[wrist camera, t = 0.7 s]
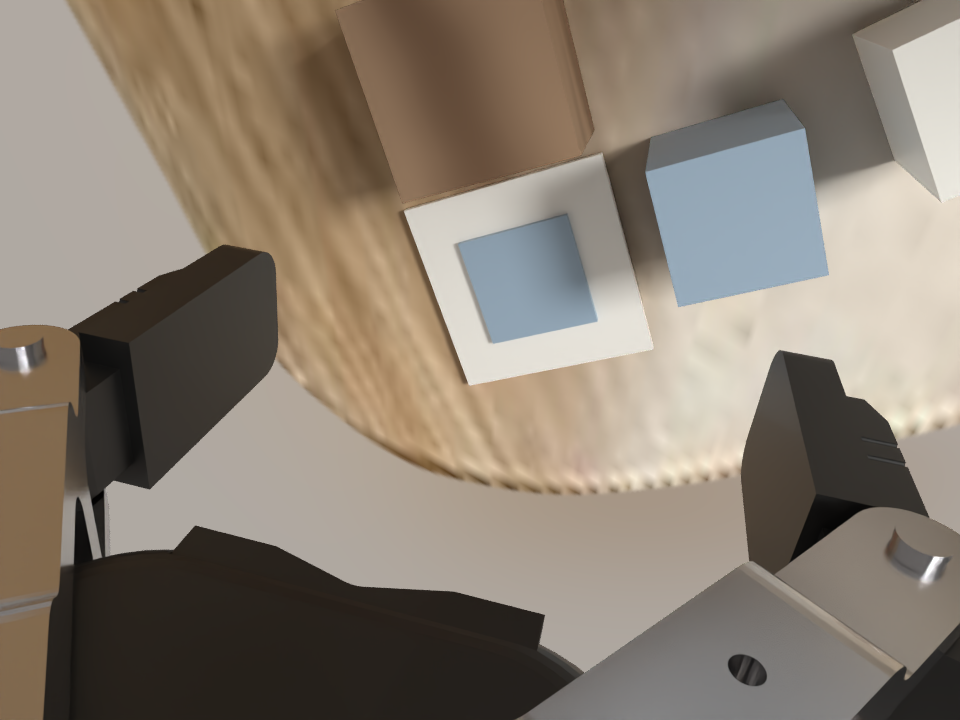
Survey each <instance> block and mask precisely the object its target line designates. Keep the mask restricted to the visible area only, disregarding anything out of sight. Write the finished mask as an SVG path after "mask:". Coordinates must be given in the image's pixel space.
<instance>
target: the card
mask: <svg viewBox="0 0 960 720" xmlns="http://www.w3.org/2000/svg"><path fill="white" fill-rule="evenodd" d="M404 213H405V216H406V218H407V221H408V224H409V226H410V229H411V232H412V234H413V237H414V240H415V242H416V245H417V248H418V250H419V253H420V256H421V258H422V261H423V264H424V266H425V269H426V272H427V274H428V277H429V280H430V282H431V285H432V288H433V290H434V293H435V296H436V298H437V301H438V304H439V306H440V309H441V312H442V314H443V317H444V320H445V322H446V325H447V328H448V330H449V333H450V336H451V338H452V341H453V344H454V347H455V349H456V352H457V355H458V357H459V360H460V363H461V365H462V368H463V371H464V373H465V376H466V379H467V381H468V384H469V386H470V385H475V384H480V383H485V382H490V381H495V380H500V379H505V378H510V377H516V376H521V375H526V374H531V373H536V372H541V371H546V370H551V369H556V368H561V367H566V366H572V365H577V364H582V363H587V362H592V361H597V360H602V359H607V358H612V357H617V356H622V355H627V354H633V353H638V352H643V351H648V350H653V347H654V345H653V342H652V338H651V334H650V330H649V326H648V323H647V319H646V315H645V311H644V308H643V304H642V300H641V296H640V292H639V289H638V285H637V281H636V277H635V274H634V270H633V266H632V262H631V258H630V255H629V251H628V247H627V243H626V240H625V236H624V232H623V228H622V225H621V221H620V217H619V213H618V209H617V206H616V202H615V198H614V194H613V191H612V187H611V183H610V179H609V175H608V172H607V168H606V164H605V160H604V157H603V153H602V152H600V153H596V154H593V155H589V156H586V157H583V158H579V159H576V160H572V161H569V162H565V163H562V164H558V165H555V166H552V167H548V168H545V169H541V170H538V171H534V172H531V173H528V174H524V175H521V176H517V177H514V178H510V179H507V180H503V181H500V182H497V183H493V184H490V185H486V186H483V187H479V188H476V189H472V190H469V191H466V192H462V193H459V194H455V195H452V196H448V197H445V198H442V199H438V200H435V201H431V202H428V203H424V204H421V205H417V206H414V207H411V208H407V209H406V210H405V211H404Z"/></svg>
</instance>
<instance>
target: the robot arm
mask: <svg viewBox="0 0 960 720" xmlns="http://www.w3.org/2000/svg"><path fill="white" fill-rule="evenodd" d="M277 347H278V322H277V293H276V269H275V263H274V260H273V258H272V256H271V255H270V254H269V253H267V252H262V251H256V250H251V249H246V248H240V247H235V246H230V245H222V246H219V247H218V248H216V249H214V250H213V251H211V252H210V253H208V254H206V255H205V256H203V257H201V258H200V259H198V260H196V261H195V262H193V263H191V264H190V265H188V266H187V267H185V268H183V269H180V270H177V271H173V272H170V273H167V274H163V275H160V276H158V277H156V278H154V279H153V280H151V281H149V282H148V283H146V284H144V285H143V286H141V287H139V288H138V290H137V292H136V291H132V292H131V293H129V294H127V295H126V296H124V297H123V298H121V299H120V301H119V302H114V303H112V304H110V305H109V306H107V307H106V308H104V309H103V310H101V311H99V312H97V313H95V314H94V315H92V316H90V317H89V318H87V319H85V320H84V321H82V322H80V323H78V324H77V325H75V326H73V327H72V328H70V329H68V330H67V329H63V328H60V327H55V326H48V325H23V326H15V327H9V328H4V329H0V720H960V534H958V533H957V532H955V531H953V530H952V529H950V528H949V527H947V526H945V525H943V524H941V523H939V522H937V521H935V520H933V519H930V518H929V516H928V513H927V511H926V509H925V506H924V504H923V502H922V499H921V497H920V495H919V492H918V490H917V488H916V485H915V483H914V481H913V479H912V476H911V474H910V471H909V469H908V468H907V467H905V460H904V458H903V455H902V453H901V451H900V449H899V448H897V445H898V444H897V441H896V439H895V437H894V434H893V432H892V430H891V427H890V425H889V423H888V421H887V420H886V419H885V418H883V417H882V416H881V415H880V414H879V413H878V412H877V411H876V410H875V409H874V408H873V407H872V406H871V405H870V404H868V403H867V402H866V401H865V400H863V399H858V398H853V397H848V396H846V394H845V392H844V389H843V386H842V383H841V380H840V378H839V375H838V372H837V369H836V367H835V364H834V362H833V361H832V360H829V359H824V358H818V357H813V356H808V355H802V354H797V353H792V352H787V351H781V350H779V351H778V352H777V353H776V355H775V357H774V359H773V361H772V363H771V366H770V369H769V372H768V375H767V378H766V381H765V385H764V388H763V391H762V394H761V397H760V400H759V403H758V406H757V409H756V413H755V416H754V419H753V422H752V425H751V428H750V431H749V434H748V437H747V441H746V445H745V449H744V454H743V460H742V468H741V483H742V493H743V503H744V513H745V522H746V533H747V543H748V552H749V562H746V563H744V564H742V565H740V566H739V567H737V568H735V569H734V570H733V571H731V572H730V573H728V574H727V575H725V576H724V577H723V578H721V579H720V580H718V581H717V582H715V583H714V584H712V585H711V586H709V587H708V588H707V589H705V590H704V591H702V592H701V593H699V594H698V595H696V596H695V597H694V598H692V599H691V600H689V601H688V602H686V603H685V604H683V605H682V606H681V607H679V608H678V609H676V610H675V611H673V612H672V613H671V614H669V615H668V616H666V617H665V618H663V619H662V620H660V621H659V622H658V623H656V624H655V625H653V626H652V627H650V628H649V629H647V630H646V631H645V632H643V633H642V634H640V635H639V636H637V637H636V638H634V639H633V640H632V641H630V642H629V643H627V644H626V645H624V646H623V647H621V648H620V649H619V650H617V651H616V652H614V653H613V654H611V655H610V656H608V657H607V658H606V659H604V660H603V661H601V662H600V663H598V664H597V665H596V666H594V667H593V668H591V669H590V670H588V671H587V672H585V673H584V672H583V671H582V670H580V669H579V668H578V667H577V666H575V665H574V664H572V663H571V662H569V661H567V660H566V659H564V658H563V657H561V656H560V655H558V654H557V653H555V652H553V651H551V650H549V649H547V648H546V647H544V646H542V645H540V644H539V643H540V638H541V633H542V628H543V622H544V617H545V615H543V614H539V613H535V612H531V611H527V610H523V609H520V608H516V607H512V606H508V605H504V604H500V603H496V602H492V601H488V600H484V599H480V598H477V597H472V596H469V595H465V594H461V593H457V592H450V591H430V590H412V589H393V588H375V587H360V586H355V585H351V584H349V583H346V582H344V581H342V580H340V579H338V578H337V577H335V576H333V575H330V574H329V573H327V572H325V571H323V570H321V569H319V568H317V567H315V566H313V565H311V564H309V563H308V562H306V561H304V560H302V559H300V558H298V557H296V556H294V555H292V554H290V553H288V552H286V551H284V550H282V549H280V548H278V547H276V546H273V545H269V544H265V543H261V542H257V541H253V540H250V539H245V538H242V537H238V536H234V535H230V534H226V533H222V532H218V531H214V530H210V529H207V528H203V527H199V526H195V527H194V528H193V529H192V530H191V531H190V532H189V533H188V534H187V536H186V537H185V538H184V539H183V540H182V541H181V543H180V544H179V545H178V546H177V547H176V548H175V549H174V550H145V551H136V552H129V553H121V554H117V555H111V556H110V530H109V504H108V499H107V493H106V487H107V486H108V485H109V484H110V483H111V482H112V481H118V482H123V483H126V484H130V485H134V486H138V487H143V488H147V489H151V488H152V487H153V486H154V485H155V484H156V483H157V482H158V481H159V480H160V479H161V478H162V477H163V476H164V475H165V474H166V473H167V472H168V471H169V470H170V469H171V468H172V467H173V466H174V465H175V464H176V463H177V462H178V461H179V460H180V459H181V458H182V457H183V456H184V455H185V454H186V453H187V452H188V451H189V450H190V449H191V448H192V447H194V445H196V444H197V443H198V442H199V441H200V439H202V438H203V437H204V436H205V435H206V434H207V433H208V432H209V431H210V430H211V429H212V428H213V427H214V426H215V425H216V424H217V423H218V422H219V421H220V420H221V419H222V418H223V417H224V416H225V415H226V414H227V413H228V412H229V411H230V410H231V409H232V408H233V407H234V406H235V405H236V404H237V403H238V402H239V401H241V400H242V399H243V398H244V396H246V395H247V394H248V393H249V392H250V391H251V390H252V389H253V388H254V387H255V386H256V385H257V384H258V383H259V382H260V381H261V380H262V379H263V378H264V377H265V376H266V375H267V374H268V372H269V370H270V369H271V367H272V365H273V363H274V360H275V357H276V353H277Z"/></svg>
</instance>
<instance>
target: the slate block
mask: <svg viewBox="0 0 960 720" xmlns="http://www.w3.org/2000/svg"><path fill="white" fill-rule="evenodd" d="M645 174H646V178H647V182H648V186H649V190H650V194H651V198H652V202H653V206H654V210H655V214H656V218H657V222H658V226H659V230H660V235H661V239H662V243H663V247H664V251H665V255H666V259H667V263H668V267H669V271H670V275H671V279H672V283H673V287H674V291H675V295H676V299H677V304H678V307H681V306H686V305H691V304H695V303H700V302H705V301H709V300H714V299H719V298H723V297H728V296H733V295H738V294H742V293H747V292H752V291H756V290H761V289H766V288H771V287H775V286H780V285H785V284H789V283H794V282H799V281H803V280H808V279H813V278H818V277H822V276H827V275H829V272H828V266H827V260H826V254H825V248H824V242H823V236H822V229H821V223H820V217H819V211H818V205H817V199H816V193H815V186H814V180H813V174H812V168H811V162H810V156H809V150H808V143H807V137H806V131H805V127H804V126H803V125H802V123H801V122H800V121H799V120H798V118H797V117H796V116H795V114H794V113H793V112H792V110H791V109H790V108H789V107H788V105H787V104H786V103H785V101H784V100H783V99H781V100H778V101H774V102H771V103H767V104H764V105H761V106H757V107H754V108H750V109H747V110H743V111H740V112H736V113H733V114H730V115H726V116H723V117H719V118H716V119H712V120H709V121H706V122H702V123H699V124H695V125H692V126H688V127H685V128H681V129H678V130H675V131H671V132H668V133H664V134H661V135H657V136H654V137H651V140H650V146H649V152H648V158H647V164H646V170H645Z"/></svg>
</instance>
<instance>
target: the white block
mask: <svg viewBox="0 0 960 720" xmlns="http://www.w3.org/2000/svg"><path fill="white" fill-rule="evenodd" d="M852 36H853V39H854V42H855V45H856V48H857V51H858V54H859V57H860V60H861V63H862V66H863V68H864V71H865V74H866V77H867V80H868V83H869V86H870V89H871V92H872V95H873V98H874V101H875V104H876V107H877V110H878V113H879V116H880V119H881V122H882V125H883V128H884V131H885V133H886V136H887V139H888V142H889V145H890V148H891V151H892V154H893V157H894V160H895V161H896V162H897V163H898V164H899V165H900V166H901V167H902V168H904V169H905V170H906V171H907V172H908V173H909V174H910V175H911V176H912V177H914V178H915V179H916V180H917V181H918V182H919V183H920V184H921V185H922V186H924V187H925V188H926V189H927V190H928V191H929V192H930V193H931V194H933V195H934V196H935V197H936V198H937V199H938V200H939V201H940V202H941V203H942V202H944V201H947V200H950V199H952V198H955V197H957V196H960V0H921V1H919V2H917V3H915V4H913V5H911V6H909V7H907V8H905V9H903V10H901V11H899V12H897V13H895V14H893V15H891V16H889V17H886V18H884V19H882V20H880V21H878V22H876V23H874V24H872V25H870V26H868V27H866V28H864V29H862V30H860V31H858V32H856V33H854V34H852Z"/></svg>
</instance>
